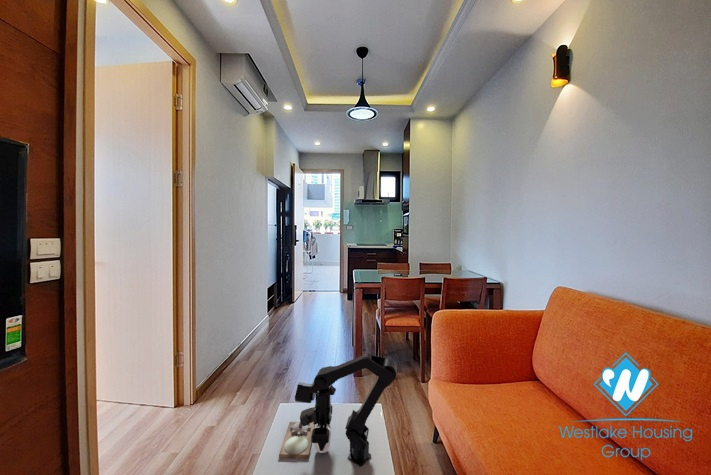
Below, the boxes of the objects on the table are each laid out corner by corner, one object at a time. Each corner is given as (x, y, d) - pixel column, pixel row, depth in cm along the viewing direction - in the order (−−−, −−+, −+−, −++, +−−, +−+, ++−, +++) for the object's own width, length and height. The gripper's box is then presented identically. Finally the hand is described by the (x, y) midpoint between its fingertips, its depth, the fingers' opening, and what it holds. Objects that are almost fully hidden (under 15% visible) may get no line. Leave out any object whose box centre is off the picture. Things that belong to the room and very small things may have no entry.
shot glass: (332, 441, 112) (333, 423, 112) (329, 455, 105) (329, 436, 105) (315, 439, 112) (315, 422, 112) (311, 453, 106) (311, 434, 106)
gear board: (315, 425, 123) (315, 417, 123) (308, 458, 105) (308, 448, 105) (289, 425, 123) (289, 416, 123) (278, 458, 105) (279, 448, 105)
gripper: (305, 389, 118) (305, 427, 118) (296, 419, 99) (296, 463, 99) (332, 390, 118) (332, 427, 118) (329, 419, 99) (328, 463, 99)
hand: (322, 443), depth 109 cm, fingers closed on shot glass, 6 cm apart
